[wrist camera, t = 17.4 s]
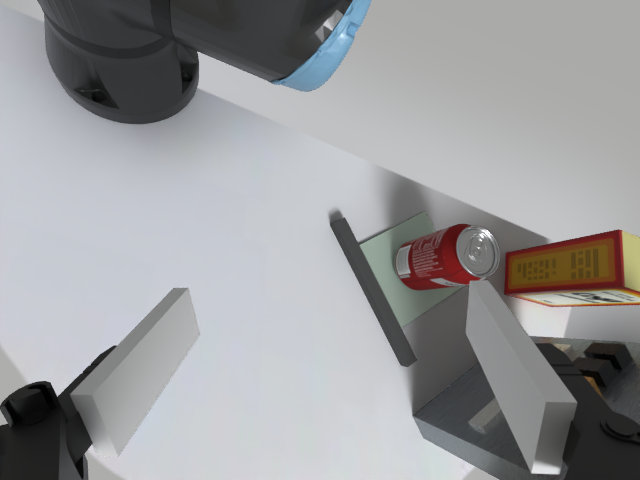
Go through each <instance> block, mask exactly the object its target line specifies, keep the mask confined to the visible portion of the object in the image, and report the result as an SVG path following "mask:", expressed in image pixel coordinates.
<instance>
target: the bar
mask: <svg viewBox="0 0 640 480" xmlns="http://www.w3.org/2000/svg"><path fill="white" fill-rule="evenodd" d="M330 226H331V228H332V230H333V232H334V234H335V236H336V238H337V240H338V242H339V244H340V246H341V248H342V250H343V252H344V254H345V256H346V258H347V260H348V262H349V264H350V266H351V268H352V270H353V272H354V274H355V276H356V277H357V279H358V281H359V283H360V285H361V287H362V289H363V291H364V293H365V295H366V297H367V299H368V301H369V303H370V305H371V307H372V309H373V311H374V313H375V315H376V317H377V319H378V321H379V323H380V325H381V327H382V329H383V331H384V333H385V335H386V337H387V339H388V341H389V343H390V345H391V347H392V349H393V351H394V353H395V355H396V357H397V359H398V361H399V363H400V365H402V366H406V367H409V366H410V365H411V364H413V363H414V362H415V361H417V358H416V357H415V355H414V353H413V351H412V349H411V347H410V345H409V343H408V341H407V339H406V337H405V335H404V333H403V331H402V329H401V327H400V325H399V323H398V321H397V319H396V317H395V315H394V313H393V311H392V309H391V307H390V305H389V303H388V301H387V299H386V297H385V295H384V293H383V291H382V290H381V288H380V286H379V284H378V282H377V280H376V278H375V276H374V274H373V272H372V270H371V268H370V266H369V264H368V262H367V260H366V258H365V256H364V254H363V252H362V250H361V248H360V246H359V244H358V242H357V240H356V238H355V236H354V234H353V232H352V230H351V228H350V226H349V224H348V223H347V221H346V219H345V218H343V219H340V220H338V221H336V222H334V223H333V224H331V225H330Z"/></svg>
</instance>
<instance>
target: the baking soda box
mask: <svg viewBox="0 0 640 480" xmlns="http://www.w3.org/2000/svg"><path fill="white" fill-rule="evenodd" d="M504 294H505V295H509V296H512V297H516V298H520V299H524V300H527V301H531V302H535V303H539V304H542V305H546V306H550V307H574V306H613V305H640V237H638V236H635V235H632V234H629V233H627V232H624V231H622V230H614V231H609V232H605V233H600V234H595V235H591V236H585V237H580V238H575V239H570V240H566V241H561V242H556V243H551V244H546V245H541V246H536V247H532V248H527V249H522V250H517V251H512V252H507V253H506V264H505V292H504Z"/></svg>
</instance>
